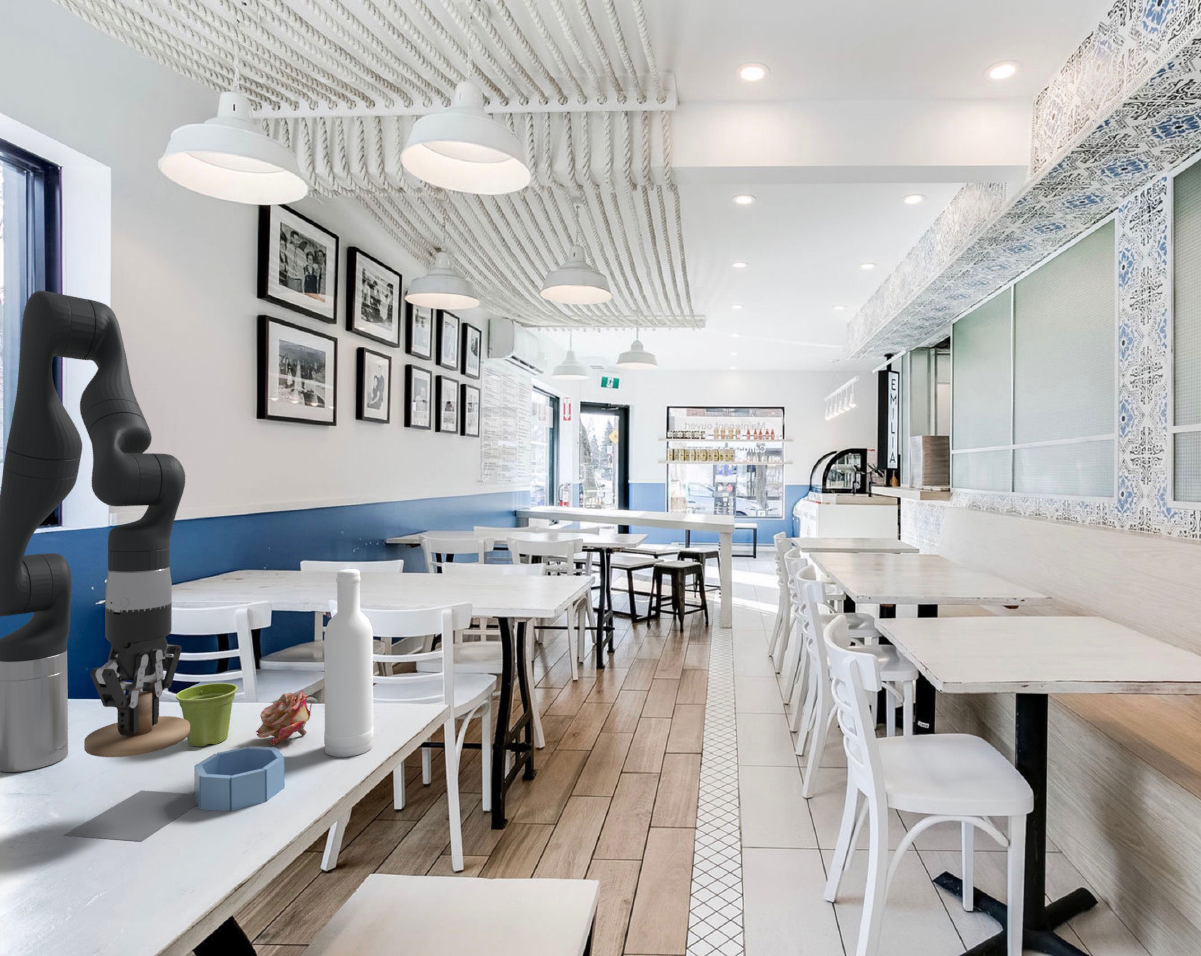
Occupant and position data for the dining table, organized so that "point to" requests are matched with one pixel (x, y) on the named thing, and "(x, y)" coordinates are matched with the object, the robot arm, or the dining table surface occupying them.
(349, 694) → the bottle
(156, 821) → the mat
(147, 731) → the lid
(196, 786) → the bowl
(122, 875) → the dining table surface
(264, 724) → the flower
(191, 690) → the plant pot
